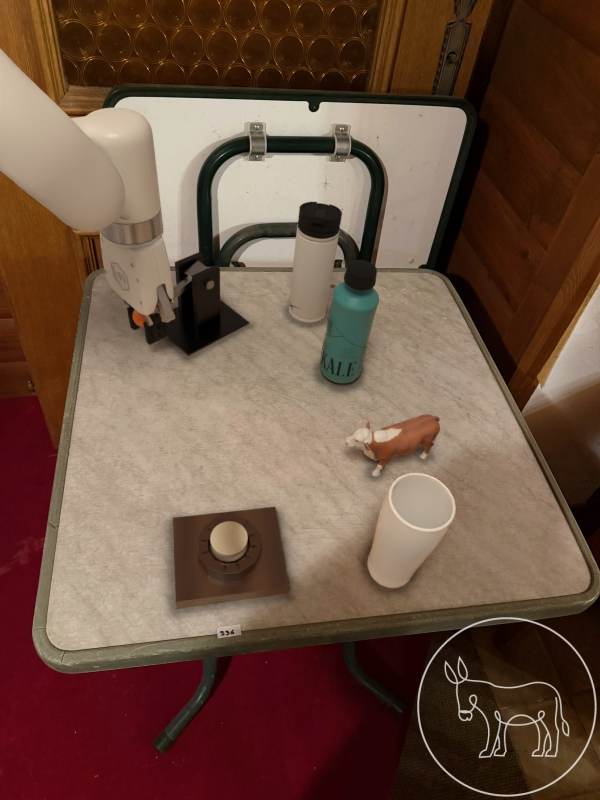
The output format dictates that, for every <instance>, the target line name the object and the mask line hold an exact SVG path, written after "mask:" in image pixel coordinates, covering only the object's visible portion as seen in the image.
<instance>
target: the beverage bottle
mask: <svg viewBox="0 0 600 800" xmlns="http://www.w3.org/2000/svg"><path fill="white" fill-rule="evenodd" d="M377 275H378V270H377V267H376V266H375V264H373V263H372V262H370V261H368V260H364V259H355V260H351V261H350V262H349V263H348V264H347V265H346V269H345V272H344V274H343V281H342V282H340V283H338V284H337V285H336V286H335V287H334V288H333V291H332V299H331V304H330V305H329V310H328V313H327V314H328V316H327V320H326V330H325V334H324V337H323V338H324V339H323V342H322V348H321V350H322V351H321V352H320V362H319V368H320V371H321V373H322V376H324V377H325V378H326V379H327V380H330V381H331V382H334V383H337V384H347V383H351V382H354V381H355V380H356V379H357V378H359V376H360V375H361V372H362V369H363V367H364V360H365V359H366V358H365V357H366V354H367V353H366V352H367V348H369V346H368V344H369V338H370V336H371V331H372V328H373V324H374V320H375V316H376V312H377V308H378V305H379V304H380V303H379V302H380V295H379V293H378V292H377V290H376V289H375V286H376V283H377Z"/></svg>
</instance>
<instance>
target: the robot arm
mask: <svg viewBox="0 0 600 800" xmlns="http://www.w3.org/2000/svg"><path fill="white" fill-rule="evenodd" d="M0 172H1V173H2V174H3V175H5V176H6V177H7V178H9V179H10V180H11V181H12V182H13V183H14V184H15V185H17V187H19V188H20V189H21V190H22V191H24V192H26V193H27V194H28V195H29V196H30V197H31V198H32V199H34V200H35V201H37V202H38V203H39V204H41V205H42V206H43V207H44V208H45V209H47V210H48V211H49V212H50V213H52V214H53V215H54V216H55V217H56V218H57V219H59V220H60V221H61V222H63V223H64V224H65V225H66V226H68V227H70V228H72V229H75V230H78V231H82V232H96V231H99V241H100V242H99V243H100V251H101V258H102V259H101V260H102V266H103V271H104V274H105V275H104V276H105V280H106V282H107V284H108V286H109V288H111V289H112V290H113V291H114V292H115V293H116V294H117V295H118V296H119V297H120V298H121V299H122V300H123V303H124V305H125V306H126V312H127V316H128V317H127V318H128V323H129V327H130V329H131V330H133V331H136V330H139V329H140V328H141V327H140V326H138V325H137V324H136V323H135V322H134V320H133V316H132V315H133V311H134V309H135V310H136V311H138V312H139V313H141V314H142V315H144V316H145V322H144V323H143V325H144V327H143V330H144V337H145V343H147V345H149V346H151V345H153V344H155V343H157V342H159V341H161V340H162V339H163V340H164V339H165V338H167V331H166V323H168V322H170V321H172V320H174V319H175V315H174V312H173V310H172V309H173V307H172V304H173V302H174V300H173V299H174V291H173V287H174V283H173V277H172V271H171V265H170V260H169V256H168V251H167V247H166V243H165V240H164V237H163V235H164V222H163V214H162V213H163V212H162V204H161V196H160V195H161V194H160V186H159V178H158V169H157V160H156V150H155V141H154V135H153V129H152V126H151V124H150V122H149V121H148V119H147V118H146V117H145V116H144V115H143V114H141V113H140V112H138V111H136V110H133V109H130V108H126V107H125V108H124V107H105V108H100V109H96V110H94V111H92V112H90V113H88V114H87V115H85V116H77V117H70V116H69V115H68V114H67V113H66V112H65V111H64V110H63V109H62V108H61V107H60V106H59V105H58V104H57V103H56V101H54V100H53V99H51V97H50V96H49V95H48V94H47V93H45V92H44V91H43V90H42V89H41V88H40V87H39V86H38V85H37V84H36V83H35V82H34V81H33V80H32V79H31V78H30V77H29V76H27V74H25V72H24V71H22V69H21V68H20V67H19V66H18V65H17V64H16V63H15V62H14V61H13V60H12V59H11V58H10V57H9V56H8V54H6V52H4V50H3V49H1V48H0ZM156 307H157V308H158V312H157V313H155V314H153V315H152V313H154V311H155V308H156ZM165 322H166V323H165Z"/></svg>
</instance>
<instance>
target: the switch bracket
mask: <svg viewBox="0 0 600 800" xmlns="http://www.w3.org/2000/svg"><path fill="white" fill-rule="evenodd" d="M197 261H199V262H201V263H202V264H203V265H204V255H203V254H202V253H201V252H200V251H198V252H196V253H194V254H191V255H189V256H186V257H183V258H181V259H179V260H176V261H175V262H174V270H175V283H176V284H175V286H176V285H177V284H179V283H180V282H181V281H183V280H184V279H185V278H186V276H185V273H184V271H185V270H187V269H188V268H189V267H191V266H192V265H193V264H195V263H196V262H197ZM207 268H208V269H206V270H203V271H201V272H199V273H197V274H194V275H192V287H190V288H189V289H188V290H186V291H185V292H184V293H182V294H181V295H180V296H178V297H177V306H176V307H173V308H172V310H173V312H174V315H175V319H174V320H172V321H170V322H168V323H166V322H165V323H166V331H167V336H166V338H167V339H169V340H170V341H171V342H172V343H173V344H174V345H175V346H177V348H179V349H180V350H181V351H182V352H183V353H184V354H185V355H186V356H187V357H190V356H191V355H193V354H195V353H197V352H199V351H201V350H203V349H205V348H207V347H209V346H210V345H212V344H214V343H216V342H218V341H220V340H221V339H223V338H226V337H227V336H228V335H231V334H233V333H234V332H236V331H238V330H240V329H242V328H244V327H246V326H248V325H250V321H248V320H247V319H246V318H244V316H242V315H240V313H238V312H237V311H236V310H234V309H233V308H232V307H231V306H229V305H228V304H227V303H225V302H224V301H223V300H222V299H221V267H219V266H218V265H217V264H215V265H213V266H210V267H207Z"/></svg>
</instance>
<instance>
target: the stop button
mask: <svg viewBox="0 0 600 800" xmlns="http://www.w3.org/2000/svg"><path fill="white" fill-rule="evenodd" d="M247 543H248V535H247V532H246V530H245V528H244V527H243V526H242V525H240V524H239V523H237V522H233V521H227V522H223V523H220V524H219V525H217V526H216V527H215V528H214V529H213V531H212V533H211V537H210V544H211V551H212V553H213V555H214V556H215V557H216V558H217V559H219V560H221V561H224V562H232V561H236V560H238V559H240V558H241V557H242V556H243V555H244V554H245V552H246V550H247Z"/></svg>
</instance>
